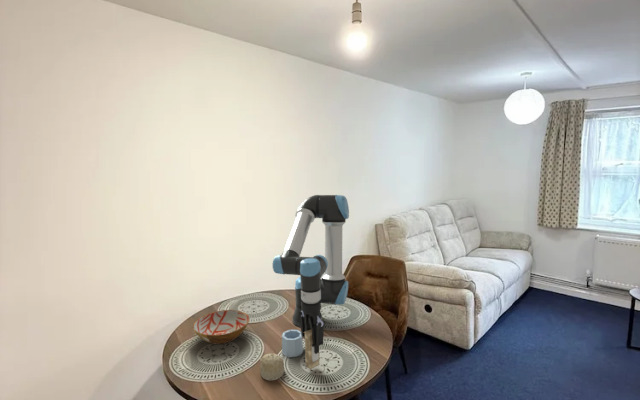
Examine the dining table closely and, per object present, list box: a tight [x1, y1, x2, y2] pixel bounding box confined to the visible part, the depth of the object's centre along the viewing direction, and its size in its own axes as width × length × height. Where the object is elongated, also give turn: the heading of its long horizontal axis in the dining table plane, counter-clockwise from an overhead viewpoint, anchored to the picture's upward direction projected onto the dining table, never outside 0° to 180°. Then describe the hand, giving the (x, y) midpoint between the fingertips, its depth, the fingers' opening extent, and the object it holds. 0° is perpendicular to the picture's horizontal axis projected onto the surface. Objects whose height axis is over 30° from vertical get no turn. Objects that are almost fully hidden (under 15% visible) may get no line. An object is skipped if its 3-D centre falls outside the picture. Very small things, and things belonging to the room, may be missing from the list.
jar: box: [281, 329, 304, 358], centre depth 140 cm, size 9×9×8 cm
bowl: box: [192, 309, 250, 345], centre depth 152 cm, size 25×25×8 cm
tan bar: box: [304, 329, 321, 370], centre depth 126 cm, size 3×4×14 cm, turn 130°
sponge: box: [259, 353, 285, 382], centre depth 126 cm, size 9×10×10 cm
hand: (312, 357), depth 127 cm, fingers closed on tan bar, 3 cm apart
